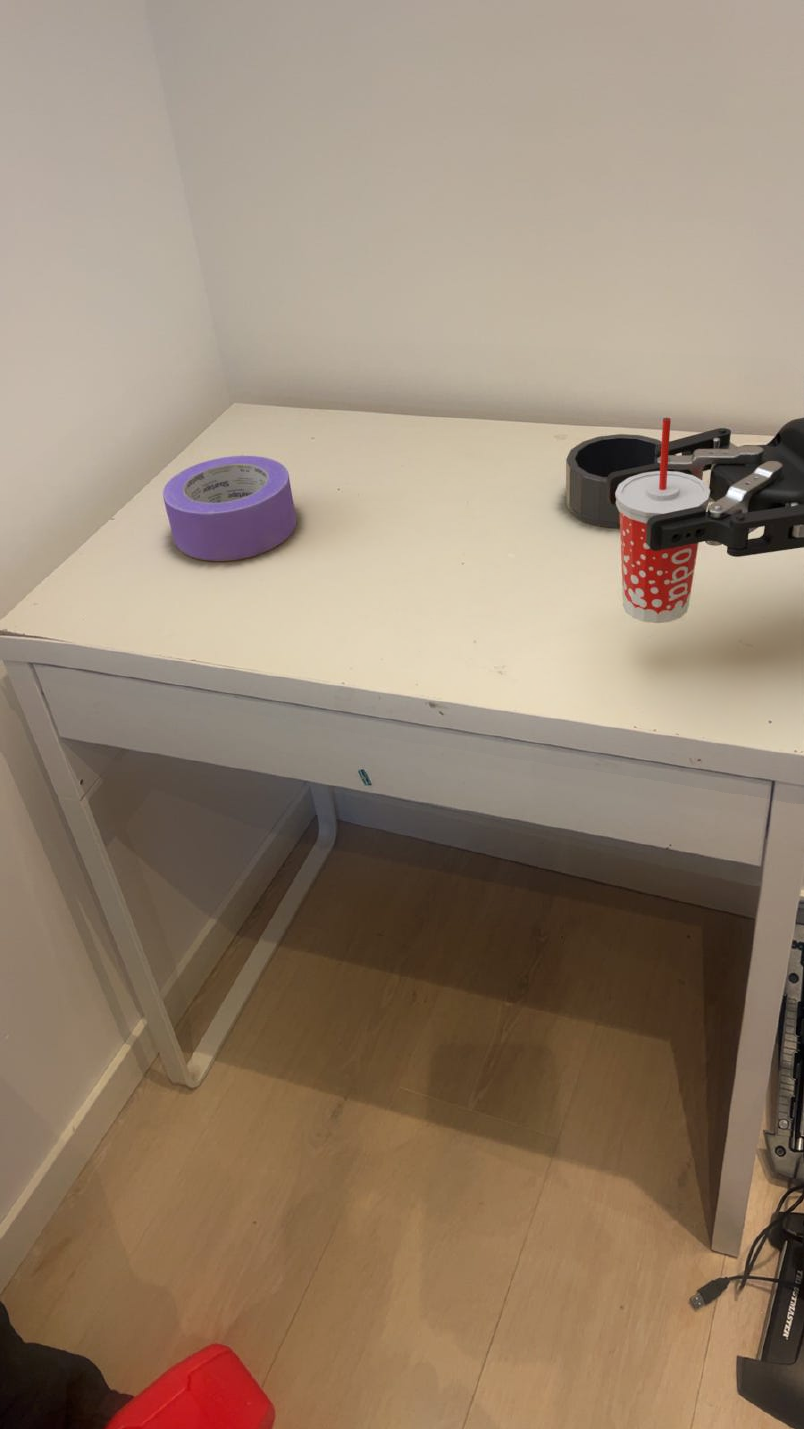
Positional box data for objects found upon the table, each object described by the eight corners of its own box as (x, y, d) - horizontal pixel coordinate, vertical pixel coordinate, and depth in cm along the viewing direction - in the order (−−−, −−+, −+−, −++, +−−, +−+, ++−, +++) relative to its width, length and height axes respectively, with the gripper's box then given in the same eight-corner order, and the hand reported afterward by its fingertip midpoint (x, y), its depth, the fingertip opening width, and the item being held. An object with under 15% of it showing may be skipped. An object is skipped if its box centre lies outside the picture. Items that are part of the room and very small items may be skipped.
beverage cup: (632, 637, 72) (641, 447, 63) (599, 593, 76) (602, 410, 68) (715, 618, 72) (734, 428, 64) (676, 575, 77) (690, 393, 68)
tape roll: (228, 492, 105) (218, 445, 102) (321, 513, 100) (313, 465, 97) (149, 547, 98) (135, 499, 95) (244, 573, 92) (233, 523, 89)
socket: (657, 473, 100) (660, 429, 97) (684, 521, 92) (689, 475, 90) (558, 484, 100) (558, 440, 97) (577, 533, 92) (578, 487, 90)
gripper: (809, 374, 74) (588, 418, 72) (935, 454, 63) (678, 508, 61) (795, 470, 79) (587, 514, 77) (910, 561, 68) (670, 614, 66)
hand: (628, 511), depth 69 cm, fingers closed on beverage cup, 6 cm apart
